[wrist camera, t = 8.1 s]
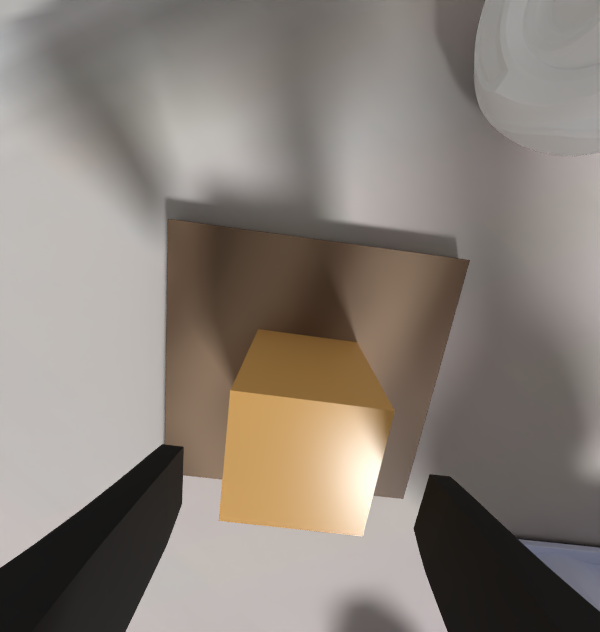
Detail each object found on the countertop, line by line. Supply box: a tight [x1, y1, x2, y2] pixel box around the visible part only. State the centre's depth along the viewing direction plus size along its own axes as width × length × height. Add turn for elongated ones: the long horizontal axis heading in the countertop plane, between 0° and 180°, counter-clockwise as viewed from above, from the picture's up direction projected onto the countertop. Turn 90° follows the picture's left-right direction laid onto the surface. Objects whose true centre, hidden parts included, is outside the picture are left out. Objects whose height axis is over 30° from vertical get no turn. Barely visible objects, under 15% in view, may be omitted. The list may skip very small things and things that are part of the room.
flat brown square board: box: [165, 219, 470, 499], centre depth 14 cm, size 14×14×4 cm
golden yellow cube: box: [219, 329, 395, 536], centre depth 12 cm, size 5×5×6 cm
